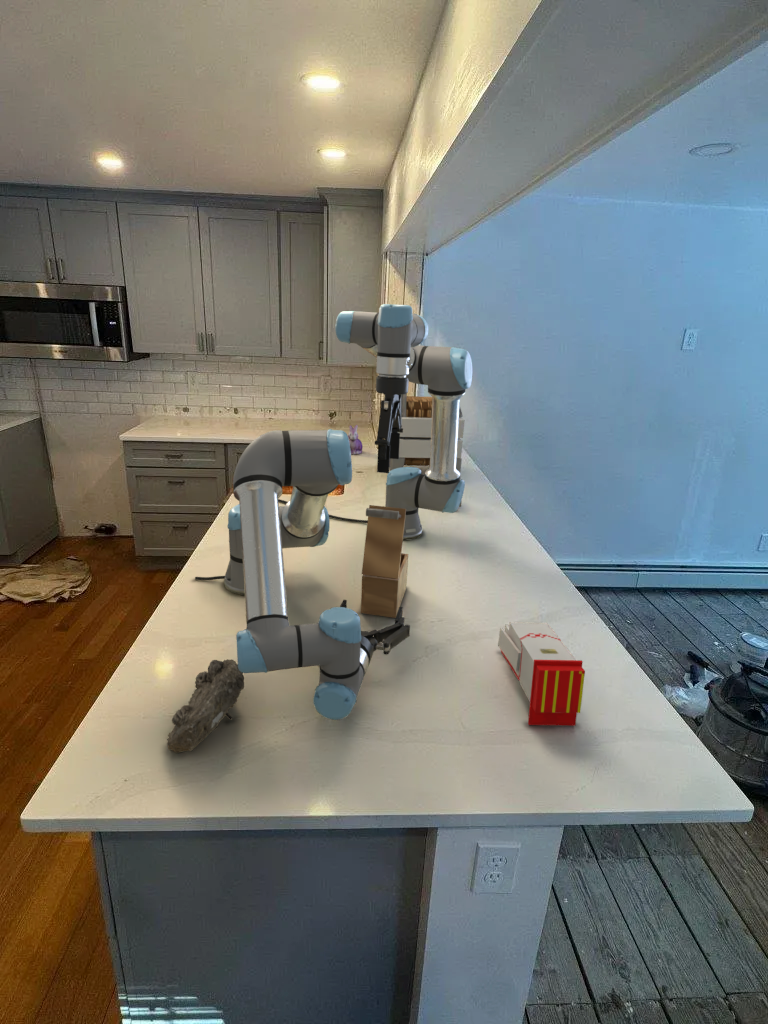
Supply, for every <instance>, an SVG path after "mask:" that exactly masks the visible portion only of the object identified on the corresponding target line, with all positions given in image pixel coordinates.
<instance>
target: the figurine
mask: <svg viewBox="0 0 768 1024" xmlns="http://www.w3.org/2000/svg"><path fill="white" fill-rule="evenodd" d="M348 427H349V432H348V434H347V435H348V438H349V443H350V450H351V455H360V454H362V452H363V447H364V446H363V443H362V441H361V439H360V438H359V433H358V427H359V426H358V424H356V425H355V426H354V427H353V426H352V425H349V426H348Z"/></svg>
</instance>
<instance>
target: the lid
mask: <svg viewBox="0 0 768 1024" xmlns="http://www.w3.org/2000/svg"><path fill="white" fill-rule="evenodd" d="M365 516H366V517H367V520H368V522H367V523H366V530H365V540H364V550H363V559H362V568H361V575H363V574H364V575H372V576H380V577H388V578H396V579H398V578H399V570H400V561H401V553H402V551H403V543H404V540H403V534H404V525H405V516H406V509H403V508H393V507H385V505H384V506H383V505H374V504H369V506H368V507H366V509H365Z"/></svg>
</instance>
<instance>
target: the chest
mask: <svg viewBox="0 0 768 1024" xmlns="http://www.w3.org/2000/svg"><path fill="white" fill-rule="evenodd" d="M408 567H409V553H402V552H401V561H400V570H399V578H398V579H396V578H388V577H380V576H372V575H364V574H361V590H360V591H361V592H360V594H361V595H360V596H361V597H360V614H364V615H372V616H377V617H378V616H379V617H386V618H394V619H396V616H397V613H398V610H399V607H401V605H402V603H403V599H404V596H405V593H406V590H407V583H408Z"/></svg>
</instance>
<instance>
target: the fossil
mask: <svg viewBox="0 0 768 1024" xmlns="http://www.w3.org/2000/svg"><path fill="white" fill-rule="evenodd" d="M194 684H195V685H194V687H195V689H194V690H193V693H192V694H191V697H190V698H189V700H188V704H184V705H182V706H181V707H180V709H177V710H176V711H175V713H174V715H173V716H172V718H171V723H172V724H173V727H172V730H171V731H170V732H168V734H167V738H166V741H167V742H166V745H167V749H168V750H169V751H173V752H174V753H176V754H178V753H182V752H188V751H189V752H192V751H193V750H195V748H196V747H197V746H199V744H200V743H201V742H203V741H204V740H205V739H206V738H207V737H208V736H209V735H210V734H211V733H212V732H214V730H215V729H217V727H218V726H219V724H220V722H221V721H222V720H223V719H224V718H225V716H226V717H227V719H229V720H233V717H232V715H230V714H229V710H230V709H231V708H234V706H235V704H236V703H237V702H238V699H239V697H240V695H241V693H242V691H243V690H245V689H244V688H245V675H244V673H242V672H241V671H240V670H239V669H238V663H237V662H236V661H235V660H234V659H232V658H231V659H227V658H226V659H224V660H223V661H222V660H217V659H212V660H211V661H210V663H209V665H208V666H207V671H201V672H199V673H198V674H197V675H196V676H195V680H194Z"/></svg>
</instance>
